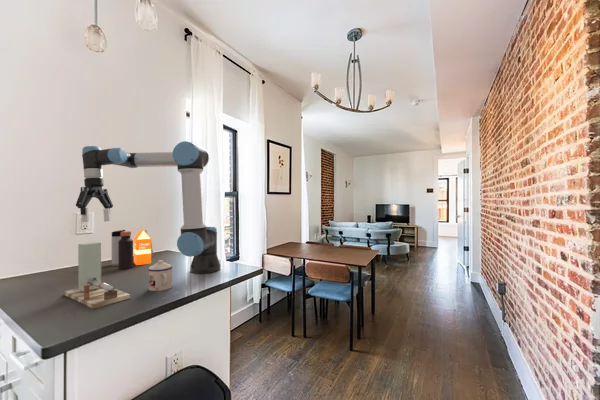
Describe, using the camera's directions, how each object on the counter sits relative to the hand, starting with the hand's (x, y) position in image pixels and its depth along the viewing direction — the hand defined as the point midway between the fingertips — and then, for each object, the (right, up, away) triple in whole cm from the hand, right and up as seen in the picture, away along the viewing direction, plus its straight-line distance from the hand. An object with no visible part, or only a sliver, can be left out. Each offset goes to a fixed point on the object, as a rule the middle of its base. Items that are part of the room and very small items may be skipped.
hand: (96, 221), depth 135 cm
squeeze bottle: (0, -27, +43) cm, 51 cm away
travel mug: (-6, -27, +25) cm, 37 cm away
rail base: (+20, -27, -28) cm, 44 cm away
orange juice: (+5, -27, +30) cm, 41 cm away
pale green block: (+15, -25, -25) cm, 38 cm away
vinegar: (+4, -27, +17) cm, 32 cm away
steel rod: (+20, -23, -28) cm, 42 cm away
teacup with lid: (+41, -27, -19) cm, 52 cm away
